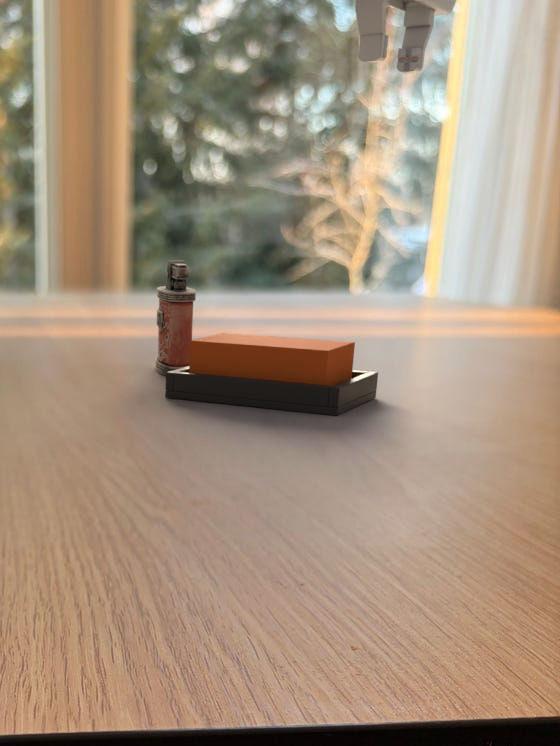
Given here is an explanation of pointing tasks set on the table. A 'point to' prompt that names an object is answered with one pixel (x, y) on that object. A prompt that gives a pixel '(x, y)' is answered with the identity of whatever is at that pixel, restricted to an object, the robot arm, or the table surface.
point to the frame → (273, 392)
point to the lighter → (174, 319)
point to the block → (273, 358)
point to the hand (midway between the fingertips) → (391, 67)
